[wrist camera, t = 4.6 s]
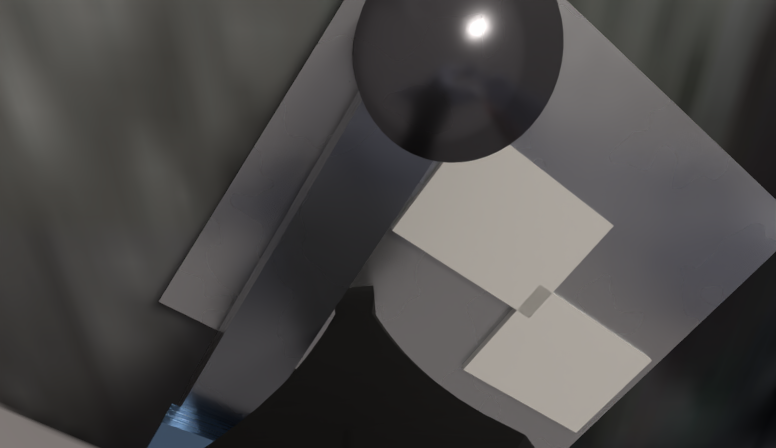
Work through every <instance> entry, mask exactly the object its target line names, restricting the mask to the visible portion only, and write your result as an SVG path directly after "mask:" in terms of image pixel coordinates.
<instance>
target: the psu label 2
mask: <svg viewBox="0 0 776 448" xmlns="http://www.w3.org/2000/svg"><path fill="white" fill-rule="evenodd" d="M539 288H540V289H539ZM537 290H538V291H537ZM539 290H540V292H539ZM541 290H542V291H541ZM545 290H546V292H545ZM535 291H536V292H535ZM535 291H534V292H535V293H534V292H533V293H532V294H533V295H532V294H531V295H530V296H529V297H528V299H527V300H526V301H527V302H526V301H525V302H524V303H523V305H521V306H522V307H521V306H520V308H518V310H516V309H514V308H513V309H512V310H511V311H510V312H509V313H508V314H507V315H506V317H505V318H504V319H503V320H502V321H501V322H500V323H499V324H498V325H497V327H496V328H495V329H494V330H493V331H492V332H491V333H490V334H489V335H488V337H487V338H486V339H485V340H484V341H483V342H482V343H481V344H480V346H479V347H478V348H477V349H476V350H475V351H474V352H473V353H472V354H471V356H470V357H469V358H468V359H467V360H466V361H465V362H464V363H463V364H462V368H463V370H465V371H466V372H468V373H470V374H472V375H473V376H475V377H477V378H479V379H481V380H482V381H484V382H486V383H488V384H490V385H491V386H493V387H495V388H497V389H499V390H500V391H502V392H504V393H506V394H507V395H509V396H511V397H513V398H515V399H516V400H518V401H520V402H522V403H524V404H525V405H527V406H529V407H531V408H533V409H534V410H536V411H538V412H540V413H541V414H543V415H545V416H547V417H549V418H550V419H552V420H554V421H556V422H558V423H559V424H561V425H563V426H565V427H567V428H568V429H570V430H572V431H574V432H578V431H579V430H580V429H581V428H582V427H583V426H584V425H585V424H586V423H587V422H588V421H589V420H590V419H591V418H592V417H593V416H594V415H595V414H596V413H597V412H598V411H600V410H601V409H602V408H603V407H604V406H605V405H606V404H607V403H608V402H609V401H610V400H611V399H612V398H613V397H614V396H615V395H616V394H617V393H618V392H619V391H620V390H622V389H623V388H624V387H625V386H626V385H627V384H628V383H629V382H630V381H631V380H632V379H633V378H634V377H635V376H636V375H637V374H638V373H639V372H640V371H641V370H643V369H644V368H645V367H646V366H647V365H648V364H649V363H650V362H651V361H652V360H651V359H650V358H649V357H648V356H647V355H645V354H644V353H642V352H641V351H639V350H638V349H637V348H635V347H634V346H632V345H631V344H629V343H628V342H626V341H625V340H623V339H622V338H620V337H619V336H617V335H616V334H614V333H613V332H611V331H610V330H608V329H607V328H605V327H604V326H602V325H601V324H600V323H598V322H597V321H595V320H594V319H592V318H591V317H589V316H588V315H586V314H585V313H583V312H582V311H580V310H579V309H577V308H576V307H574V306H573V305H571V304H570V303H568V302H567V301H565V300H564V299H563V298H561V297H560V296H558V295H557V294H555V293H554V292H553V293H552V294H551V292H550V291H549V290H548V291H547V289H545V288H544V287H543V286H541V285H539V286H538V287H537V288H536V290H535ZM543 291H544V292H543ZM540 293H541V295H540ZM536 294H537V295H536ZM538 294H539V295H538ZM542 294H543V295H542ZM544 294H545V295H544ZM534 295H535V296H534ZM540 296H541V297H540ZM544 296H545V298H544ZM546 296H547V298H546ZM548 296H549V297H548ZM531 297H532V301H531ZM535 297H536V298H535ZM537 297H538V298H537ZM542 297H543V298H542ZM529 298H530V299H529ZM535 299H536V301H535ZM537 299H538V301H537ZM539 299H540V301H539ZM529 300H530V301H529ZM533 300H534V301H533ZM528 302H529V304H528ZM530 302H531V304H530ZM524 304H525V305H524ZM534 305H535V306H534ZM536 305H537V306H536ZM538 305H539V306H538ZM523 306H524V309H523ZM534 307H535V308H534ZM536 307H537V308H536ZM538 307H539V308H538ZM519 309H520V310H519ZM521 309H522V310H521ZM525 309H526V310H525ZM523 310H524V311H523ZM527 310H528V312H527ZM529 310H530V312H529ZM533 310H534V311H533ZM535 310H536V311H535ZM531 313H532V314H531ZM533 313H534V314H533ZM524 314H525V315H524ZM526 314H527V315H526ZM528 314H529V315H528ZM530 316H531V317H530ZM528 317H529V318H528Z"/></svg>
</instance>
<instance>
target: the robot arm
mask: <svg viewBox="0 0 776 448" xmlns="http://www.w3.org/2000/svg"><path fill="white" fill-rule="evenodd" d="M205 448H535V447H534V446H533V444H532V443H531V442H530V440H529V439H528V437H527V436H526V435H525V434H523V433H521V432H519V431H517V430H515V429H513V428H511V427H509V426H507V425H505V424H503V423H501V422H499V421H497V420H495V419H493V418H491V417H489V416H487V415H485V414H483V413H481V412H480V411H478V410H476V409H475V408H473V407H471V406H470V405H468V404H467V403H465V402H463V401H462V400H460V399H458V398H457V397H456V396H454V395H453V394H452V393H450V392H449V391H448V390H446V389H445V388H444V387H442V386H441V385H439V384H438V383H437V382H435V381H434V380H433V379H432V378H431V377H430V376H429V375H427V374H426V373H425V372H424V371H423V370H422V369H421V368H420V367H419V366H418V365H416V364H415V363H414V362H413V361H412V360H411V359H410V358H409V357H408V356H407V354H406V353H405V352H404V351H403V350H402V349H401V348H400V347H399V345H398V344H397V343H396V342H395V341H394V339H393V338H392V337H391V336H390V334H389V333H388V332H387V330H386V329H385V328H384V326H383V325H382V323H381V322H380V320H379V319H378V317H377V316H376V310H375V298H374V288H373V285H372V286H361V287H351V288H348V290H347V291H346V293H345V294H344V296H343V297H342V299H341V300H340V302H339V303H338V305H337V306H336V308H335V315H334V317H333V319H332V320H331V322H330V324H329V325H328V327H327V328H326V330H325V332H324V333H323V335H322V336H321V338H320V339H319V340H318V342H317V343H316V345H315V346H314V347H313V349H312V350H311V351H310V353H309V354H308V356H307V357H306V358H305V359H304V360H303V362H302V363H301V364H300V365H299V367H298V368H297V369H296V370H295V371H294V372H293V373H292V374H291V376H290V377H289V378H288V379H287V380H286V381H285V382H284V383H283V384H282V385H281V386H280V387H279V388H278V389H277V390H276V391H275V392H274V393H273V394H272V395H271V396H270V397H268V398H267V399H266V400H265V401H264V402H263V403H262V404H261V405H260V406H259V407H258V408H256V409H255V410H254V411H253V412H252V413H250V414H249V415H248V416H247V417H245V418H244V419H243V420H242V421H240V422H239V423H238V424H237V425H235V426H234V427H233V428H231V429H230V430H229V431H227V432H226V433H225V434H223V435H222V436H220V437H219V438H218V439H216V440H215V441H213V442H212V443H211V444H209V445H208V446H206V447H205Z"/></svg>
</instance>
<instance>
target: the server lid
mask: <svg viewBox="0 0 776 448" xmlns="http://www.w3.org/2000/svg"><path fill="white" fill-rule="evenodd" d="M365 1H366V0H344V1H343V3H342V5H341V6H340V8H339V9H338V11H337V13H336V14H335V16H334V18H333V19H332V21H331V22H330V24H329V26H328V27H327V29H326V31H325V32H324V34H323V35H322V37H321V39H320V40H319V42H318V44H317V45H316V47H315V48H314V50H313V52H312V53H311V55H310V57H309V58H308V60H307V61H306V63H305V65H304V66H303V68H302V70H301V71H300V73H299V74H298V76H297V78H296V79H295V81H294V83H293V84H292V86H291V87H290V89H289V91H288V92H287V94H286V96H285V97H284V99H283V100H282V102H281V104H280V105H279V107H278V109H277V110H276V112H275V113H274V115H273V117H272V118H271V120H270V122H269V123H268V125H267V126H266V128H265V130H264V131H263V133H262V135H261V136H260V138H259V139H258V141H257V143H256V144H255V146H254V148H253V149H252V151H251V152H250V154H249V156H248V157H247V159H246V161H245V162H244V164H243V165H242V167H241V169H240V170H239V172H238V174H237V175H236V177H235V178H234V180H233V182H232V183H231V185H230V187H229V188H228V190H227V191H226V193H225V195H224V196H223V198H222V200H221V201H220V203H219V204H218V206H217V208H216V209H215V211H214V213H213V214H212V216H211V217H210V219H209V221H208V222H207V224H206V226H205V227H204V229H203V230H202V232H201V234H200V235H199V237H198V239H197V240H196V242H195V243H194V245H193V247H192V248H191V250H190V252H189V253H188V255H187V256H186V258H185V260H184V261H183V263H182V265H181V266H180V268H179V269H178V271H177V273H176V274H175V276H174V278H173V279H172V281H171V282H170V284H169V286H168V287H167V289H166V291H165V292H164V294H163V295H162V297H161V299H160V300H159V302H160V303H162V304H164V305H166V306H169V307H171V308H173V309H175V310H177V311H179V312H181V313H183V314H185V315H187V316H189V317H191V318H193V319H195V320H197V321H199V322H201V323H203V324H205V325H207V326H209V327H211V328H213V329H215V330H217V331H218V330H219V329H220V327H221V325H222V323H223V322H224V320H225V318H226V317H227V315H228V313H229V311H230V310H231V308H232V306H233V305H234V303H235V301H236V299H237V298H238V296H239V294H240V293H241V291H242V289H243V287H244V286H245V284H246V282H247V281H248V279H249V277H250V275H251V274H252V272H253V270H254V269H255V267H256V265H257V263H258V262H259V260H260V258H261V257H262V255H263V253H264V251H265V250H266V248H267V246H268V245H269V243H270V241H271V239H272V238H273V236H274V234H275V233H276V231H277V229H278V227H279V226H280V224H281V222H282V221H283V219H284V217H285V215H286V214H287V212H288V210H289V209H290V207H291V205H292V203H293V202H294V200H295V198H296V197H297V195H298V193H299V192H300V190H301V188H302V186H303V185H304V183H305V181H306V180H307V178H308V176H309V174H310V173H311V171H312V169H313V168H314V166H315V164H316V162H317V161H318V159H319V157H320V156H321V154H322V152H323V150H324V149H325V147H326V145H327V144H328V142H329V140H330V138H331V137H332V135H333V133H334V132H335V130H336V128H337V126H338V125H339V123H340V121H341V120H342V118H343V116H344V114H345V113H346V111H347V109H348V108H349V106H350V104H351V102H352V101H353V99H354V97H355V96H356V94H357V92H358V87H357V84H356V81H355V78H354V74H353V69H352V61H351V51H352V42H353V37H354V33H355V30H356V26H357V23H358V20H359V17H360V13H361V10H362V7H363V5H364V3H365ZM557 3H558V6H559V10H560V14H561V18H562V25H563V33H564V49H563V57H562V64H561V69H560V73H559V77H558V80H557V83H556V85H555V88H554V91H553V93H552V95H551V97H550V99H549V101H548V103H547V105H546V106H545V108H544V110H543V111H542V113H541V114H540V116H539V117H538V118H537V119H536V121H535V122H534V123H533V124H532V126H531V127H530V128H529V129H528V130H527V131H526V132H525V133H524V134H523V135H522V136H520V137H519V138H518V139H517V140H515V141H514V142H513V143H511V144H510V145H511V146H512V147H513V148H515V149H516V150H517V151H519V152H520V153H521V154H522V155H524V156H525V157H526V158H528V159H529V160H530V161H531V162H533V163H534V164H535V165H537V166H538V167H539V168H540V169H542V170H543V171H544V172H546V173H547V174H548V175H549V176H551V177H552V178H553V179H554V180H556V181H557V182H558V183H560V184H561V185H562V186H563V187H565V188H566V189H567V190H569V191H570V192H571V193H572V194H574V195H575V196H576V197H578V198H579V199H580V200H581V201H583V202H584V203H585V204H587V205H588V206H589V207H590V208H592V209H593V210H594V211H596V212H597V213H598V214H599V215H601V216H602V217H603V218H605V219H606V220H607V221H608V222H610V223H611V224H612V225H614V226H613V227H612V228H611V229H610V231H609V232H608V233H607V234H606V235H605V236H604V237H603V238H602V239H601V240H600V241H599V243H598V244H597V245H596V246H595V247H594V248H593V249H592V250H591V251H590V252H589V253H588V255H587V256H586V257H585V258H584V259H583V260H582V261H581V262H580V263H579V264H578V265H577V267H576V268H575V269H574V270H573V271H572V272H571V273H570V274H569V275H568V276H567V277H566V279H565V280H564V281H563V282H562V283H561V284H560V285H559V286H558V287H557V288H556V289H555V291H554V293H555V294H557V295H558V296H560V297H561V298H563V299H564V300H565V301H567V302H568V303H570V304H571V305H573V306H574V307H576V308H577V309H579V310H580V311H582V312H583V313H585V314H586V315H588V316H589V317H591V318H592V319H594V320H595V321H597V322H598V323H600V324H601V325H602V326H604V327H605V328H607V329H608V330H610V331H611V332H613V333H614V334H616V335H617V336H619V337H620V338H622V339H623V340H625V341H626V342H628V343H629V344H631V345H632V346H634V347H635V348H637V349H638V350H639V351H641V352H642V353H644V354H645V355H647V356H648V357H649V358H650V359H651V360H652V361H651V362H650V363H649V364H648V365H647V366H646V367H645V368H644V369H643V370H641V371H640V372H639V373H638V374H637V375H636V376H635V377H634V378H633V379H632V380H631V381H630V382H629V383H628V384H627V385H626V386H625V387H624V388H623V389H622V390H620V391H619V392H618V393H617V394H616V395H615V396H614V397H613V398H612V399H611V400H610V401H609V402H608V403H607V404H606V405H605V406H604V407H603V408H602V409H601V410H600V411H598V412H597V413H596V414H595V415H594V416H593V417H592V418H591V419H590V420H589V421H588V422H587V423H586V424H585V425H584V426H583V427H582V428H581V429H580V430H579V431H578V432H574V431H572V430H570V429H568V428H567V427H565V426H563V425H561V424H559V423H558V422H556V421H554V420H552V419H550V418H549V417H547V416H545V415H543V414H541V413H540V412H538V411H536V410H534V409H533V408H531V407H529V406H527V405H525V404H524V403H522V402H520V401H518V400H516V399H515V398H513V397H511V396H509V395H507V394H506V393H504V392H502V391H500V390H499V389H497V388H495V387H493V386H491V385H490V384H488V383H486V382H484V381H482V380H481V379H479V378H477V377H475V376H473V375H472V374H470V373H468V372H466V371H465V370H463V368H462V364H463V363H464V362H465V361H466V360H467V359H468V358H469V357H470V356H471V354H472V353H473V352H474V351H475V350H476V349H477V348H478V347H479V346H480V344H481V343H482V342H483V341H484V340H485V339H486V338H487V337H488V335H489V334H490V333H491V332H492V331H493V330H494V329H495V328H496V327H497V325H498V324H499V323H500V322H501V321H502V320H503V319H504V318H505V317H506V315H507V314H508V313H509V312H510V311H511V310H512V309H513V307H511V306H510V305H508V304H506V303H505V302H503V301H502V300H500V299H499V298H497V297H495V296H494V295H492V294H491V293H489V292H488V291H486V290H484V289H483V288H481V287H480V286H478V285H477V284H475V283H474V282H472V281H470V280H469V279H467V278H466V277H464V276H463V275H461V274H459V273H458V272H456V271H455V270H453V269H452V268H450V267H448V266H447V265H445V264H444V263H442V262H441V261H439V260H437V259H436V258H434V257H433V256H431V255H430V254H428V253H426V252H425V251H423V250H422V249H420V248H419V247H417V246H416V245H414V244H412V243H411V242H409V241H408V240H406V239H405V238H403V237H401V236H400V235H398V234H397V233H395V232H394V231H392V226H393V225H394V224H395V222H396V221H397V220H398V218H399V217H400V216H401V214H402V213H403V212H404V210H405V209H406V208H407V206H408V205H409V204H410V202H411V201H412V200H413V198H414V197H415V196H416V194H417V193H418V192H419V190H420V189H421V188H422V186H423V185H424V184H425V182H426V181H427V180H428V178H429V177H430V176H431V174H432V173H433V172H434V170H435V169H436V168H437V166H438V165H439V164H440V163H441V162H437V161H433V162H432V164H431V165H430V167H429V168H428V170H427V171H426V173H425V174H424V176H423V177H422V179H421V180H420V182H419V183H418V185H417V186H416V188H415V189H414V191H413V192H412V194H411V195H410V197H409V198H408V200H407V201H406V203H405V204H404V206H403V207H402V209H401V210H400V212H399V213H398V215H397V216H396V218H395V219H394V221H393V222H392V224H391V225H390V227H389V228H388V230H387V231H386V233H385V234H384V236H383V237H382V239H381V240H380V242H379V243H378V245H377V246H376V248H375V249H374V251H373V252H372V254H371V255H370V257H369V258H368V260H367V261H366V263H365V264H364V266H363V267H362V269H361V270H360V272H359V273H358V275H357V276H356V278H355V279H354V281H353V282H352V284H351V285H350V287H349V288H351V287H361V286H372V285H373V288H374V298H375V310H376V316H377V317H378V319H379V320H380V322H381V323H382V325H383V326H384V328H385V329H386V330H387V332H388V333H389V334H390V336H391V337H392V338H393V339H394V341H395V342H396V343H397V344H398V345H399V347H400V348H401V349H402V350H403V351H404V352H405V353H406V354H407V356H408V357H409V358H410V359H411V360H412V361H413V362H414V363H415V364H416V365H418V366H419V367H420V368H421V369H422V370H423V371H424V372H425V373H426V374H427V375H429V376H430V377H431V378H432V379H433V380H434V381H435V382H437V383H438V384H439V385H441V386H442V387H444V388H445V389H446V390H448V391H449V392H450V393H452V394H453V395H454V396H456V397H457V398H458V399H460V400H462V401H463V402H465V403H467V404H468V405H470V406H471V407H473V408H475V409H476V410H478V411H480V412H481V413H483V414H485V415H487V416H489V417H491V418H493V419H495V420H497V421H499V422H501V423H503V424H505V425H507V426H509V427H511V428H513V429H515V430H517V431H519V432H521V433H523V434H525V435H526V436H527V437H528V439H529V440H530V442H531V443H532V444H533V446H534V447H535V448H569V447H570V446H571V445H572V444H573V443H574V442H575V441H576V440H577V439H578V438H579V437H580V436H581V435H582V434H583V433H585V432H586V431H587V430H588V429H589V428H590V427H591V426H592V425H593V424H594V423H595V422H596V421H597V420H598V419H599V418H600V417H601V416H602V415H604V414H605V413H606V412H607V411H608V410H609V409H610V408H611V407H612V406H613V405H614V404H615V403H616V402H617V401H618V400H619V399H620V398H621V397H622V396H624V395H625V394H626V393H627V392H628V391H629V390H630V389H631V388H632V387H633V386H634V385H635V384H636V383H637V382H638V381H639V380H640V379H641V378H643V377H644V376H645V375H646V374H647V373H648V372H649V371H650V370H651V369H652V368H653V367H654V366H655V365H656V364H657V363H658V362H659V361H660V360H662V359H663V358H664V357H665V356H666V355H667V354H668V353H669V352H670V351H671V350H672V349H673V348H674V347H675V346H676V345H677V344H678V343H679V342H681V341H682V340H683V339H684V338H685V337H686V336H687V335H688V334H689V333H690V332H691V331H692V330H693V329H694V328H695V327H696V326H697V325H698V324H700V323H701V322H702V321H703V320H704V319H705V318H706V317H707V316H708V315H709V314H710V313H711V312H712V311H713V310H714V309H715V308H716V307H717V306H719V305H720V304H721V303H722V302H723V301H724V300H725V299H726V298H727V297H728V296H729V295H730V294H731V293H732V292H733V291H734V290H735V289H736V288H738V287H739V286H740V285H741V284H742V283H743V282H744V281H745V280H746V279H747V278H748V277H749V276H750V275H751V274H752V273H753V272H754V271H755V270H757V269H758V268H759V267H760V266H761V265H762V264H763V263H764V262H765V261H766V260H767V259H768V258H769V257H770V256H771V255H772V254H773V253H774V252H775V251H776V200H775V199H774V198H773V197H772V196H771V195H770V194H769V193H768V192H767V191H766V190H765V189H764V188H763V187H762V186H761V185H760V184H759V183H758V182H756V181H755V180H754V179H753V178H752V177H751V176H750V175H749V174H748V173H747V172H746V171H745V170H744V169H743V168H742V167H741V166H740V165H739V164H738V163H737V162H736V161H734V160H733V159H732V158H731V157H730V156H729V155H728V154H727V153H726V152H725V151H724V150H723V149H722V148H721V147H720V146H719V145H718V144H717V143H716V142H715V141H714V140H712V139H711V138H710V137H709V136H708V135H707V134H706V133H705V132H704V131H703V130H702V129H701V128H700V127H699V126H698V125H697V124H696V123H695V122H694V121H693V120H692V119H690V118H689V117H688V116H687V115H686V114H685V113H684V112H683V111H682V110H681V109H680V108H679V107H678V106H677V105H676V104H675V103H674V102H673V101H672V100H671V99H669V98H668V97H667V96H666V95H665V94H664V93H663V92H662V91H661V90H660V89H659V88H658V87H657V86H656V85H655V84H654V83H653V82H652V81H651V80H650V79H649V78H647V77H646V76H645V75H644V74H643V73H642V72H641V71H640V70H639V69H638V68H637V67H636V66H635V65H634V64H633V63H632V62H631V61H630V60H629V59H628V58H627V57H625V56H624V55H623V54H622V53H621V52H620V51H619V50H618V49H617V48H616V47H615V46H614V45H613V44H612V43H611V42H610V41H609V40H608V39H607V38H606V37H605V36H603V35H602V34H601V33H600V32H599V31H598V30H597V29H596V28H595V27H594V26H593V25H592V24H591V23H590V22H589V21H588V20H587V19H586V18H585V17H584V16H583V15H581V14H580V13H579V12H578V11H577V10H576V9H575V8H574V7H573V6H572V5H571V4H570V3H569V2H568V1H567V0H557ZM334 315H335V309H334V311H333V312H332V314H331V315H330V317H329V318H328V320H327V321H326V323H325V324H324V326H323V327H322V329H321V330H320V332H319V333H318V335H317V336H316V338H315V339H314V341H313V342H312V344H311V345H310V347H309V348H308V350H307V351H306V352H305V354H304V355H303V357H302V358H301V360H300V361H299V363H298V364H297V366H296V367H295V369H297V368H298V367H299V365H300V364H301V363H302V362H303V360H304V359H305V358H306V357H307V356H308V354H309V353H310V351H311V350H312V349H313V347H314V346H315V345H316V343H317V342H318V340H319V339H320V338H321V336H322V335H323V333H324V332H325V330H326V328H327V327H328V325H329V324H330V322H331V320H332V319H333V317H334Z"/></svg>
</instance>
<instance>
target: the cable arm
mask: <svg viewBox="0 0 776 448" xmlns="http://www.w3.org/2000/svg"><path fill="white" fill-rule="evenodd" d="M563 49H564V33H563V25H562V18H561V14H560V10H559V6H558V3H557V0H366V1H365V3H364V5H363V7H362V10H361V13H360V17H359V20H358V23H357V26H356V30H355V33H354V37H353V42H352V51H351V61H352V69H353V74H354V78H355V81H356V84H357V87H358V92H357V94H356V96H355V97H354V99H353V101H352V102H351V104H350V106H349V108H348V109H347V111H346V113H345V114H344V116H343V118H342V120H341V121H340V123H339V125H338V126H337V128H336V130H335V132H334V133H333V135H332V137H331V138H330V140H329V142H328V144H327V145H326V147H325V149H324V150H323V152H322V154H321V156H320V157H319V159H318V161H317V162H316V164H315V166H314V168H313V169H312V171H311V173H310V174H309V176H308V178H307V180H306V181H305V183H304V185H303V186H302V188H301V190H300V192H299V193H298V195H297V197H296V198H295V200H294V202H293V203H292V205H291V207H290V209H289V210H288V212H287V214H286V215H285V217H284V219H283V221H282V222H281V224H280V226H279V227H278V229H277V231H276V233H275V234H274V236H273V238H272V239H271V241H270V243H269V245H268V246H267V248H266V250H265V251H264V253H263V255H262V257H261V258H260V260H259V262H258V263H257V265H256V267H255V269H254V270H253V272H252V274H251V275H250V277H249V279H248V281H247V282H246V284H245V286H244V287H243V289H242V291H241V293H240V294H239V296H238V298H237V299H236V301H235V303H234V305H233V306H232V308H231V310H230V311H229V313H228V315H227V317H226V318H225V320H224V322H223V323H222V325H221V327H220V329H219V330H218V332H217V334H216V335H215V337H214V339H213V341H212V342H211V344H210V346H209V347H208V349H207V351H206V353H205V354H204V356H203V358H202V359H201V361H200V363H199V364H198V366H197V368H196V370H195V371H194V373H193V375H192V377H191V379H190V381H189V383H188V385H187V387H186V389H185V391H184V393H183V395H182V397H181V399H180V401H179V403H178V405H175V404H171V406H170V408H169V409H168V411H167V413H166V414H165V416H164V418H163V420H162V421H161V423H160V425H159V426H158V428H157V430H156V432H155V433H154V435H153V437H152V439H151V440H150V442H149V444H148V445H147V447H146V448H205V447H206V446H208V445H209V444H211V443H212V442H213V441H215V440H216V439H218V438H219V437H220V436H222V435H223V434H225V433H226V432H227V431H229V430H230V429H231V428H233V427H234V426H235V425H237V424H238V423H239V422H240V421H242V420H243V419H244V418H245V417H247V416H248V415H249V414H250V413H252V412H253V411H254V410H255V409H256V408H258V407H259V406H260V405H261V404H262V403H263V402H264V401H265V400H266V399H267V398H268V397H270V396H271V395H272V394H273V393H274V392H275V391H276V390H277V389H278V388H279V387H280V386H281V385H282V384H283V383H284V382H285V381H286V380H287V379H288V378H289V376H290V375H291V373H292V372H293V370H294V369H295V367H296V366H297V364H298V363H299V361H300V360H301V358H302V357H303V355H304V354H305V352H306V351H307V350H308V348H309V347H310V345H311V344H312V342H313V341H314V339H315V338H316V336H317V335H318V333H319V332H320V330H321V329H322V327H323V326H324V324H325V323H326V321H327V320H328V318H329V317H330V315H331V314H332V312H333V311H334V309H335V308H336V306H337V305H338V303H339V302H340V300H341V299H342V297H343V296H344V294H345V293H346V291H347V290H348V288H349V287H350V285H351V284H352V282H353V281H354V279H355V278H356V276H357V275H358V273H359V272H360V270H361V269H362V267H363V266H364V264H365V263H366V261H367V260H368V258H369V257H370V255H371V254H372V252H373V251H374V249H375V248H376V246H377V245H378V243H379V242H380V240H381V239H382V237H383V236H384V234H385V233H386V231H387V230H388V228H389V227H390V225H391V224H392V222H393V221H394V219H395V218H396V216H397V215H398V213H399V212H400V210H401V209H402V207H403V206H404V204H405V203H406V201H407V200H408V198H409V197H410V195H411V194H412V192H413V191H414V189H415V188H416V186H417V185H418V183H419V182H420V180H421V179H422V177H423V176H424V174H425V173H426V171H427V170H428V168H429V167H430V165H431V164H432V162H433V161H437V162H447V163H456V162H467V161H473V160H477V159H480V158H483V157H487V156H489V155H491V154H494V153H496V152H498V151H500V150H502V149H503V148H505V147H507V146H508V145H510V144H511V143H513V142H514V141H515V140H517V139H518V138H519V137H520V136H522V135H523V134H524V133H525V132H526V131H527V130H528V129H529V128H530V127H531V126H532V124H533V123H534V122H535V121H536V119H537V118H538V117H539V116H540V114H541V113H542V111H543V110H544V108H545V106H546V105H547V103H548V101H549V99H550V97H551V95H552V93H553V91H554V88H555V85H556V83H557V80H558V77H559V73H560V69H561V64H562V57H563Z"/></svg>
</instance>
